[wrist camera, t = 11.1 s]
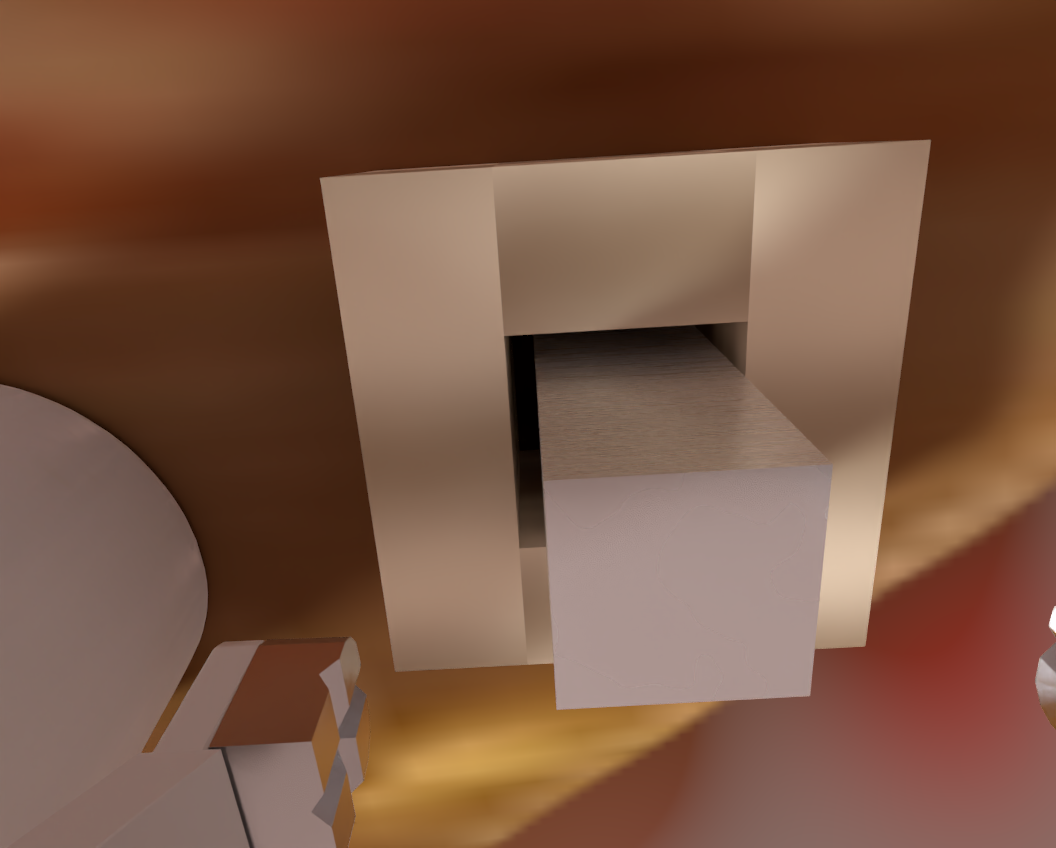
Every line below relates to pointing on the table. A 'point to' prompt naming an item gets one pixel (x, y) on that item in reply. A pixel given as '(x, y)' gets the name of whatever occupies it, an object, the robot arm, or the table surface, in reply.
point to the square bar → (674, 523)
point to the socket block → (606, 304)
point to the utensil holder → (83, 606)
